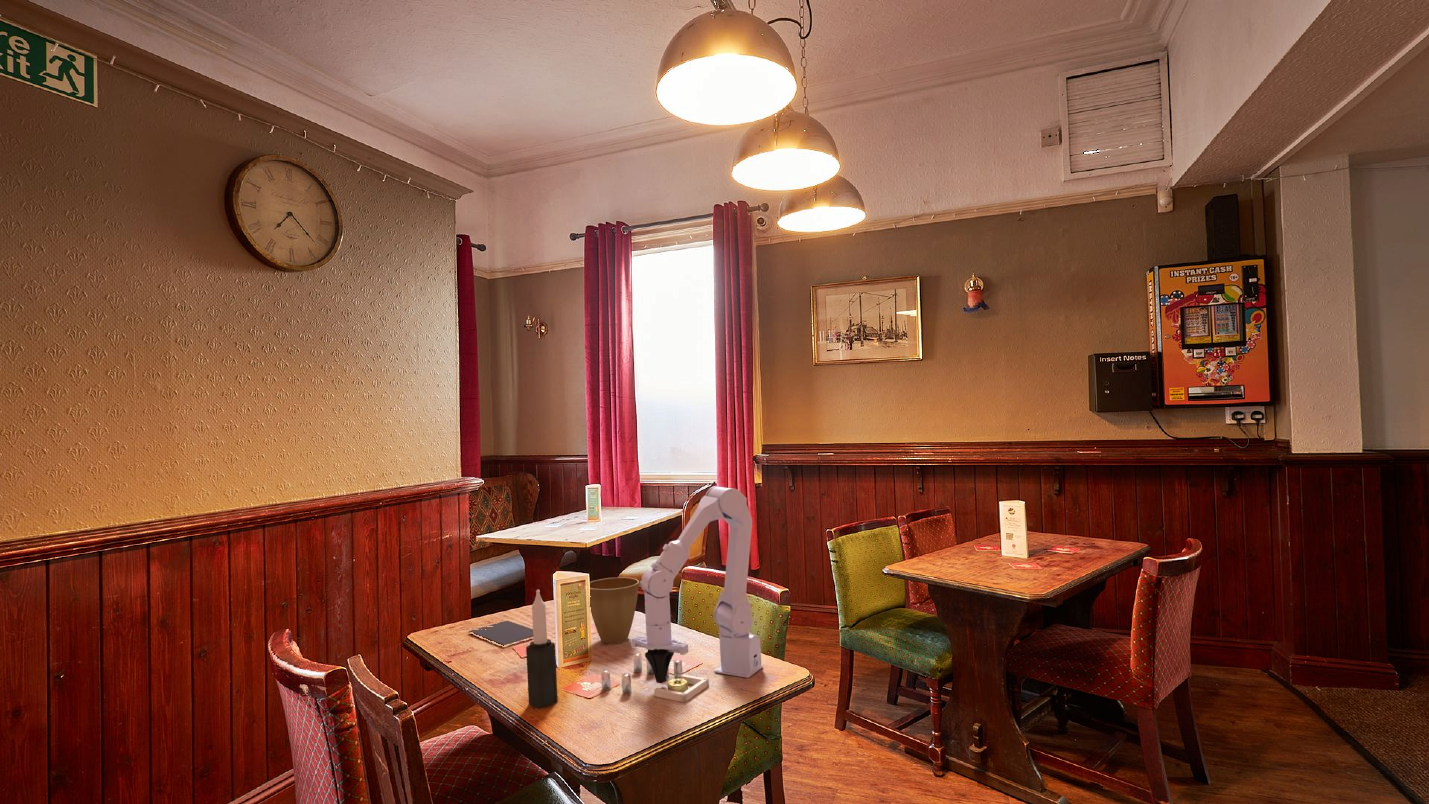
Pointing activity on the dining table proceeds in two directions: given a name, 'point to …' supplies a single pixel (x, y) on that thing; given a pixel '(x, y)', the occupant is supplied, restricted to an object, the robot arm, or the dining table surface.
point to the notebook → (504, 632)
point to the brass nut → (678, 685)
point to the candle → (541, 660)
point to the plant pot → (613, 607)
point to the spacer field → (637, 668)
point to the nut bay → (683, 697)
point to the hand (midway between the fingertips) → (661, 681)
